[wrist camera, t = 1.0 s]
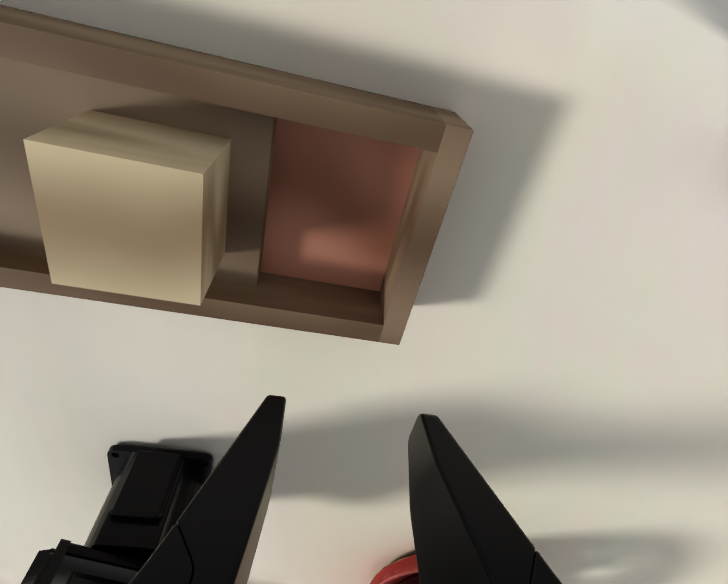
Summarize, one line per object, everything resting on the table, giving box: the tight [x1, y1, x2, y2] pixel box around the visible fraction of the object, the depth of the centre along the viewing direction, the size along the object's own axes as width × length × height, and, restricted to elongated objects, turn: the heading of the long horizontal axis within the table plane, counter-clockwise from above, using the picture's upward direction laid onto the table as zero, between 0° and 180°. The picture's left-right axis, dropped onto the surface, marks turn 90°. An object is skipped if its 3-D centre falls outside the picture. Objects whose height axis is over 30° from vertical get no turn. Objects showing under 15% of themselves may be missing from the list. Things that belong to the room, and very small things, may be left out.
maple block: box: [23, 110, 231, 306], centre depth 16 cm, size 5×5×4 cm
